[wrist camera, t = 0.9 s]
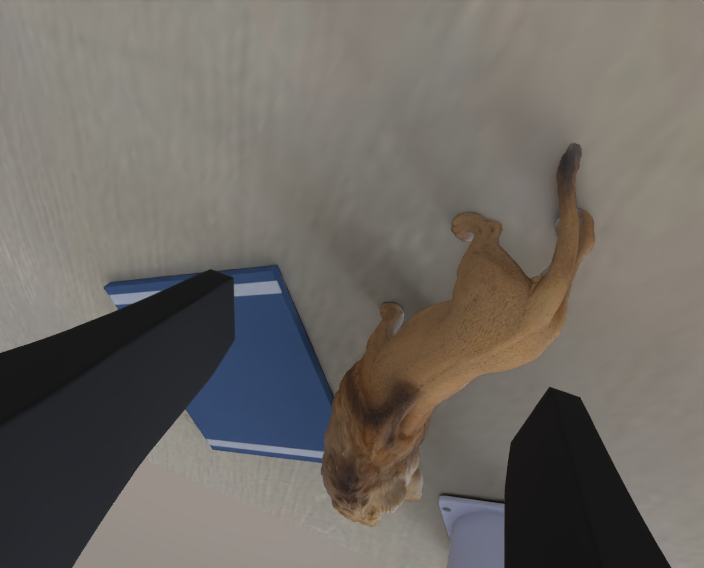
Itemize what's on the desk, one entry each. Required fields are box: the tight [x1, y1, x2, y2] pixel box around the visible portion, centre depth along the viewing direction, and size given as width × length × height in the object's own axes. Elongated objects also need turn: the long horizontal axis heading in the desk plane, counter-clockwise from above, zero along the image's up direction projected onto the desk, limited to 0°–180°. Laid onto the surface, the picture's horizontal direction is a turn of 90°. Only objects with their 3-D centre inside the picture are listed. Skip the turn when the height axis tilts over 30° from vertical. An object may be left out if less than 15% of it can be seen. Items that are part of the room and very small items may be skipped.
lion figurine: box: [321, 143, 595, 527], centre depth 16 cm, size 15×5×9 cm, turn 158°
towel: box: [104, 265, 334, 463], centre depth 28 cm, size 16×13×1 cm
